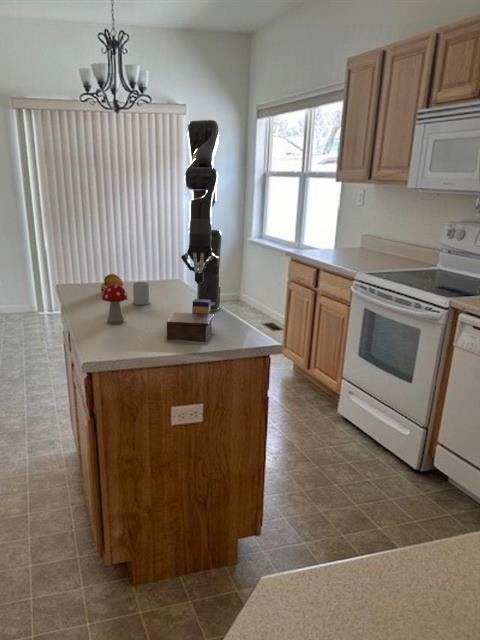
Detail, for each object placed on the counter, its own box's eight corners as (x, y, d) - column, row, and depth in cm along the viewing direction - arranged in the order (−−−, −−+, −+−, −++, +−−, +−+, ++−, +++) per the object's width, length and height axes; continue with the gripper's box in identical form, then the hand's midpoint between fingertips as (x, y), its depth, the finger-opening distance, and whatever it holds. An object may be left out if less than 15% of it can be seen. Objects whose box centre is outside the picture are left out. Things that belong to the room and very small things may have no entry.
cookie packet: (209, 328, 204) (210, 299, 199) (207, 331, 199) (208, 302, 195) (194, 326, 205) (194, 298, 200) (191, 330, 200) (192, 301, 196)
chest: (211, 334, 196) (211, 317, 194) (205, 344, 185) (205, 326, 182) (174, 331, 199) (174, 314, 196) (166, 341, 187) (166, 323, 184)
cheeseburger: (110, 289, 264) (113, 270, 259) (125, 297, 260) (129, 278, 255) (95, 292, 256) (98, 272, 252) (111, 300, 252) (114, 280, 247)
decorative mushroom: (106, 326, 203) (104, 287, 197) (100, 320, 210) (98, 283, 205) (131, 324, 207) (130, 285, 201) (124, 318, 214) (123, 281, 208)
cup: (135, 305, 234) (134, 285, 231) (130, 300, 243) (130, 280, 240) (151, 304, 236) (150, 284, 233) (146, 299, 245) (146, 280, 242)
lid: (214, 316, 193) (214, 314, 193) (208, 325, 182) (208, 323, 182) (174, 314, 196) (174, 312, 196) (166, 323, 184) (166, 321, 184)
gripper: (221, 230, 180) (219, 282, 186) (182, 229, 182) (182, 280, 189) (218, 233, 173) (216, 286, 180) (178, 232, 175) (178, 284, 182)
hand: (199, 283), depth 184 cm, fingers closed
